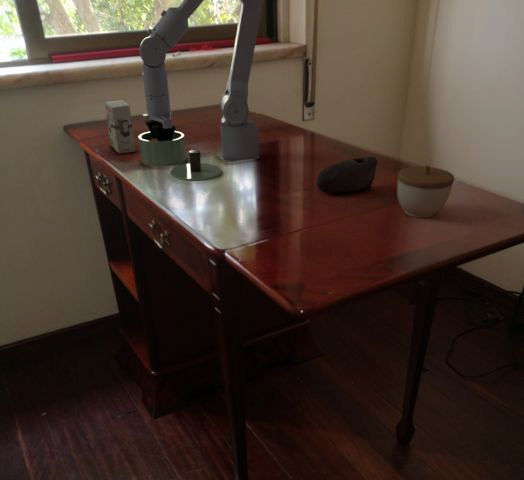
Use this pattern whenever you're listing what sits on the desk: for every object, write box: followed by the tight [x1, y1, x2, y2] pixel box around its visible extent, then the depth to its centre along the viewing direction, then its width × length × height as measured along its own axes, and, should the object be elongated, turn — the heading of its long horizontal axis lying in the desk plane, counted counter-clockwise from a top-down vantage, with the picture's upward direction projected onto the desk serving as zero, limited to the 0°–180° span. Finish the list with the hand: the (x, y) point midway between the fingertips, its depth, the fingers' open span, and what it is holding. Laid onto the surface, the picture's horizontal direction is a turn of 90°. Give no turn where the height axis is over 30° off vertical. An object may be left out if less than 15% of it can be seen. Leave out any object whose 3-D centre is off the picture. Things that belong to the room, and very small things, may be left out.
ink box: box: [104, 99, 136, 154], centre depth 143 cm, size 9×5×12 cm, turn 27°
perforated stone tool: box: [316, 156, 378, 194], centre depth 117 cm, size 15×5×7 cm, turn 110°
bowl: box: [137, 130, 187, 167], centre depth 135 cm, size 11×11×6 cm
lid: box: [169, 149, 222, 182], centre depth 127 cm, size 12×12×6 cm
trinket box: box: [396, 164, 455, 219], centre depth 106 cm, size 11×11×9 cm
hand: (162, 152), depth 136 cm, fingers closed on block, 4 cm apart
